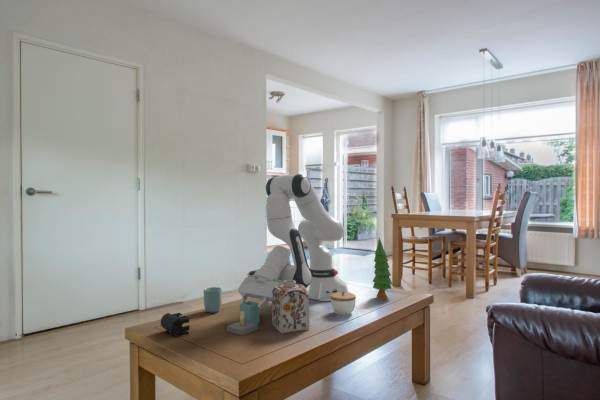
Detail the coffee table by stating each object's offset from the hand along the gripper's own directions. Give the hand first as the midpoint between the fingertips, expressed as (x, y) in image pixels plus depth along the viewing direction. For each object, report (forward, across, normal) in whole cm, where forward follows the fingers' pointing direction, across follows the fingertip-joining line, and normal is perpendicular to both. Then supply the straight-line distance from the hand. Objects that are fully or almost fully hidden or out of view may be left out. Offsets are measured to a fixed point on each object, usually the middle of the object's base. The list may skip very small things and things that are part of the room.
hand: (250, 306), depth 159 cm
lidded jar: (-18, -23, -28) cm, 41 cm away
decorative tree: (-42, -26, -51) cm, 71 cm away
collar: (+5, 0, -4) cm, 7 cm away
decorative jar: (+1, -16, -9) cm, 18 cm away
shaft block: (+10, -4, +1) cm, 11 cm away
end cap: (+22, +15, +12) cm, 30 cm away
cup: (+3, +25, -6) cm, 26 cm away
